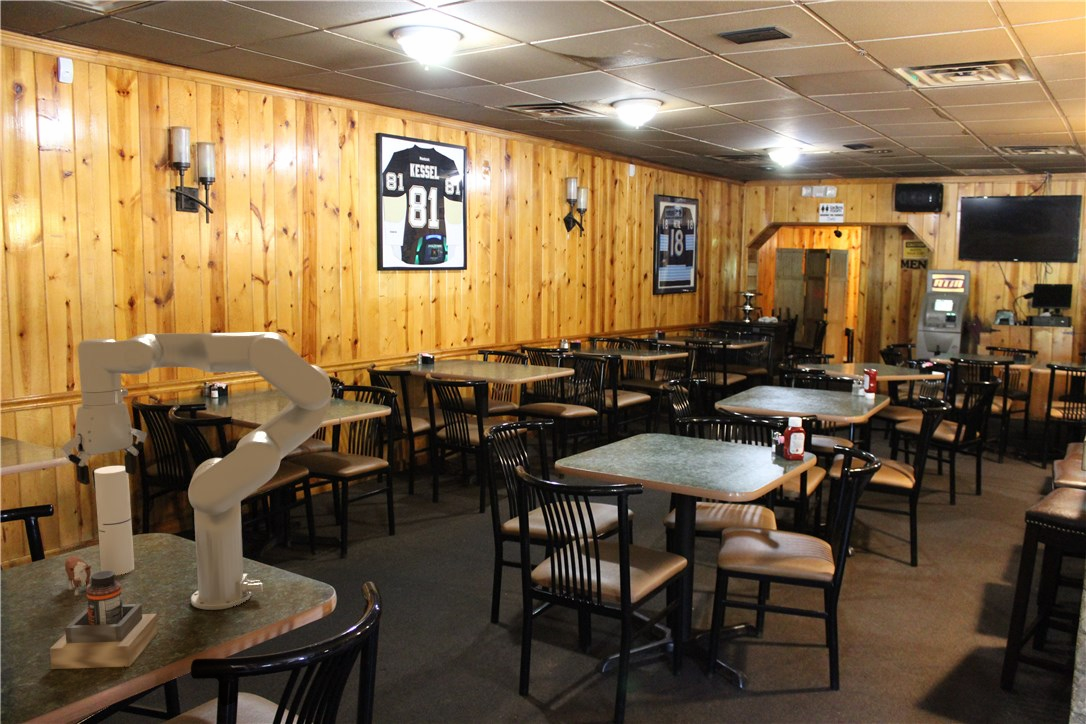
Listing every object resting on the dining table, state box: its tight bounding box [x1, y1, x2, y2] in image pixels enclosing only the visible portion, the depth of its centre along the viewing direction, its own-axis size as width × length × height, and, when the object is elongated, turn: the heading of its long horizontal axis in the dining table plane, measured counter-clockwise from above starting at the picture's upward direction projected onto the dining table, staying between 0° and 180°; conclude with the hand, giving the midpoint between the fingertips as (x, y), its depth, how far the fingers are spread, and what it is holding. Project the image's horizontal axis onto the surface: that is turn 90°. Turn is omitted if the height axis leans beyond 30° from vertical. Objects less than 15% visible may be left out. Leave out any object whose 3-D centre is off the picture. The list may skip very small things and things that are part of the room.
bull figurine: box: [64, 554, 92, 597], centre depth 190 cm, size 4×13×8 cm, turn 36°
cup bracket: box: [49, 603, 159, 670], centre depth 163 cm, size 14×14×7 cm
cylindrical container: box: [93, 465, 135, 576], centre depth 202 cm, size 7×7×25 cm
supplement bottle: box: [86, 570, 123, 625], centre depth 162 cm, size 6×6×11 cm
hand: (108, 478), depth 177 cm, fingers open, 9 cm apart
